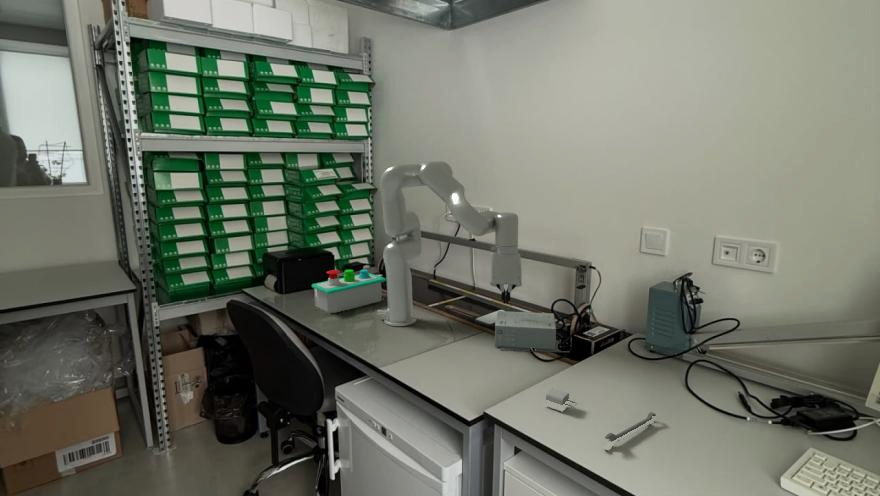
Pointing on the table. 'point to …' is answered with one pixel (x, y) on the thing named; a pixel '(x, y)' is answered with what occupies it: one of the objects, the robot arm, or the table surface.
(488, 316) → the phone case
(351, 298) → the control panel
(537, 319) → the hard drive box
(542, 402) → the table surface
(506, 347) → the mat
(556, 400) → the usb wall charger
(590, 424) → the table surface
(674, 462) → the table surface
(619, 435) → the combination wrench
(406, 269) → the robot arm
